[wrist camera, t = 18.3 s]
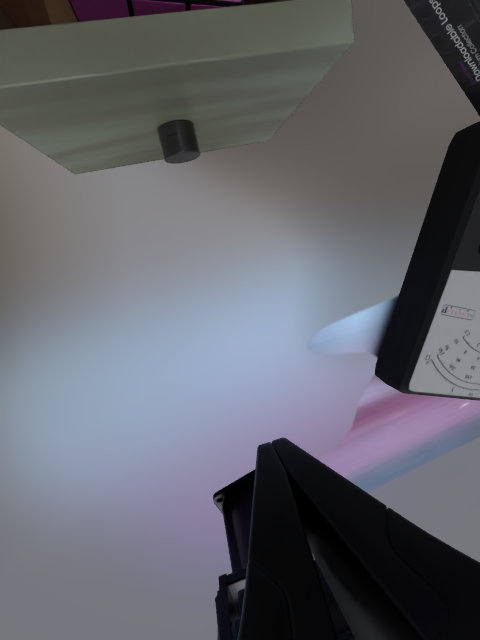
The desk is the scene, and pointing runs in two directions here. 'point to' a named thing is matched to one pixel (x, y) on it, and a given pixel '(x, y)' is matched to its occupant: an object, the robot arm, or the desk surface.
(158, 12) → the puzzle toy
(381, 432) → the desk surface
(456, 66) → the box
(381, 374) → the multimeter
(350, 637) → the robot arm
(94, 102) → the drawer
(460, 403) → the desk surface
